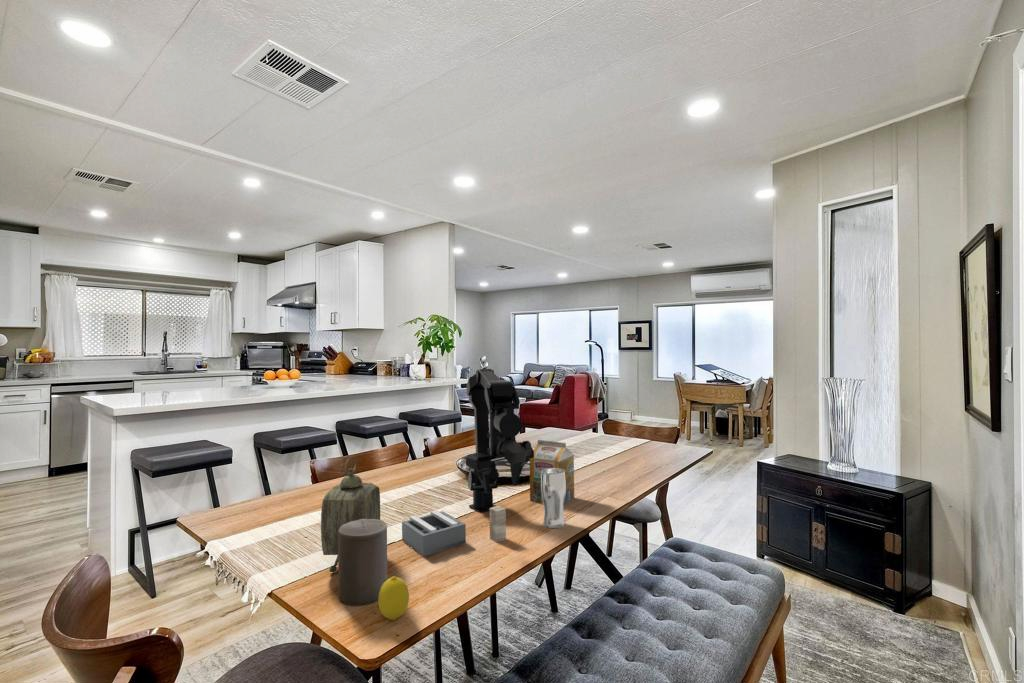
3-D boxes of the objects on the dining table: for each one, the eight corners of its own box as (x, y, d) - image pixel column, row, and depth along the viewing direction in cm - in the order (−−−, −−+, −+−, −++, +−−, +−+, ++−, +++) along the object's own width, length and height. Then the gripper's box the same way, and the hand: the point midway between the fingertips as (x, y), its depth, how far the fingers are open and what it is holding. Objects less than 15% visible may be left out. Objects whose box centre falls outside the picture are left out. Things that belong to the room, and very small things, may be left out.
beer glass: (565, 529, 128) (564, 474, 128) (540, 528, 129) (539, 473, 129) (567, 520, 135) (566, 468, 135) (543, 518, 136) (542, 467, 136)
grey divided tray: (402, 540, 122) (401, 518, 122) (442, 529, 130) (442, 508, 130) (423, 557, 113) (422, 532, 113) (465, 543, 120) (465, 520, 120)
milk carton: (530, 501, 152) (529, 442, 152) (546, 492, 160) (545, 436, 160) (558, 507, 146) (557, 446, 146) (574, 497, 154) (573, 440, 154)
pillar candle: (341, 611, 90) (341, 533, 90) (335, 587, 99) (335, 516, 99) (392, 598, 95) (392, 524, 95) (382, 577, 103) (382, 509, 103)
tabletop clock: (346, 549, 118) (345, 449, 118) (382, 548, 118) (380, 449, 118) (321, 577, 103) (319, 464, 104) (362, 577, 103) (360, 464, 103)
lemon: (381, 612, 90) (381, 570, 90) (411, 610, 90) (410, 568, 90) (375, 629, 84) (375, 585, 84) (407, 627, 85) (406, 583, 85)
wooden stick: (490, 538, 123) (489, 508, 123) (499, 535, 125) (498, 505, 125) (496, 542, 120) (496, 511, 120) (505, 539, 122) (505, 508, 122)
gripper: (490, 439, 111) (490, 505, 111) (547, 429, 122) (548, 489, 122) (464, 432, 119) (465, 494, 119) (520, 423, 131) (521, 479, 131)
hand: (501, 489), depth 123 cm, fingers open, 9 cm apart
